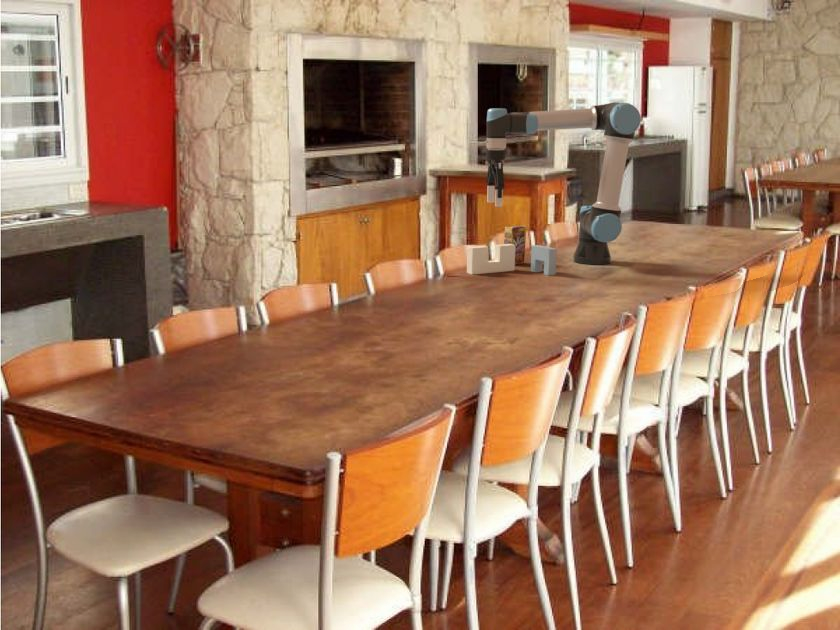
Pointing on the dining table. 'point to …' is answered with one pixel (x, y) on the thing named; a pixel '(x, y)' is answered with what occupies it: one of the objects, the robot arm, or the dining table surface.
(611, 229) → the robot arm
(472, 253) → the slotted stand
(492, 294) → the dining table surface
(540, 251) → the light blue arch block
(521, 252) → the candy box
